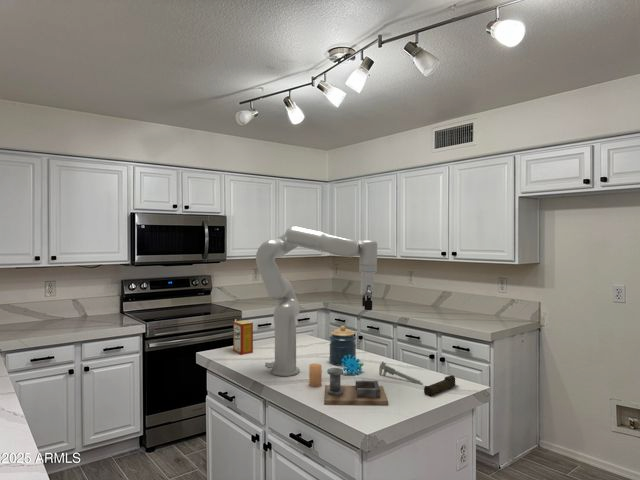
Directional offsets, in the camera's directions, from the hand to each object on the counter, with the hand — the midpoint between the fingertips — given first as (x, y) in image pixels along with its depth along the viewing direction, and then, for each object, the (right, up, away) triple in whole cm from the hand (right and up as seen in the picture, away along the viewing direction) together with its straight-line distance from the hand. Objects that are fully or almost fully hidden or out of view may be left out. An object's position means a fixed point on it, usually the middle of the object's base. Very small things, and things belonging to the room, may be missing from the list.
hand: (367, 308), depth 191 cm
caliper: (+14, -30, -4) cm, 34 cm away
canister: (-9, -30, +22) cm, 38 cm away
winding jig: (-7, -30, -24) cm, 39 cm away
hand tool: (+27, -30, -16) cm, 44 cm away
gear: (-6, -30, +5) cm, 31 cm away
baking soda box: (-61, -30, +40) cm, 79 cm away
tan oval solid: (-22, -30, -11) cm, 39 cm away
